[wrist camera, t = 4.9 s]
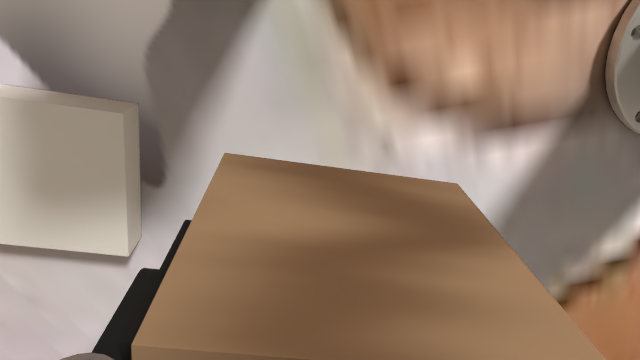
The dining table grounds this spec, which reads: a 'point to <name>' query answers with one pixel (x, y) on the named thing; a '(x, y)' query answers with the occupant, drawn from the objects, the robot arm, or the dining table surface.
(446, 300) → the walnut block
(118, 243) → the stone base
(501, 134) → the dining table surface
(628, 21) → the robot arm
